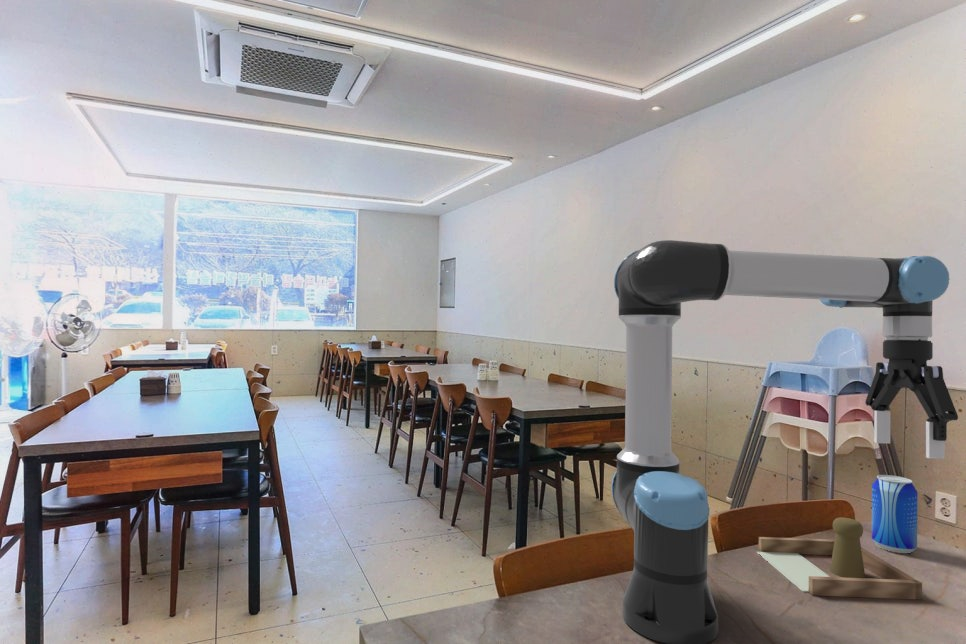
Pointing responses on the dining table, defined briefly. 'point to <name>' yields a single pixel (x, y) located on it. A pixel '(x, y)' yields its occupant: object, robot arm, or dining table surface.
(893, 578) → the bay
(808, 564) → the front pad
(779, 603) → the dining table surface
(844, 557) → the olive chess pawn
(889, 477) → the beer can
